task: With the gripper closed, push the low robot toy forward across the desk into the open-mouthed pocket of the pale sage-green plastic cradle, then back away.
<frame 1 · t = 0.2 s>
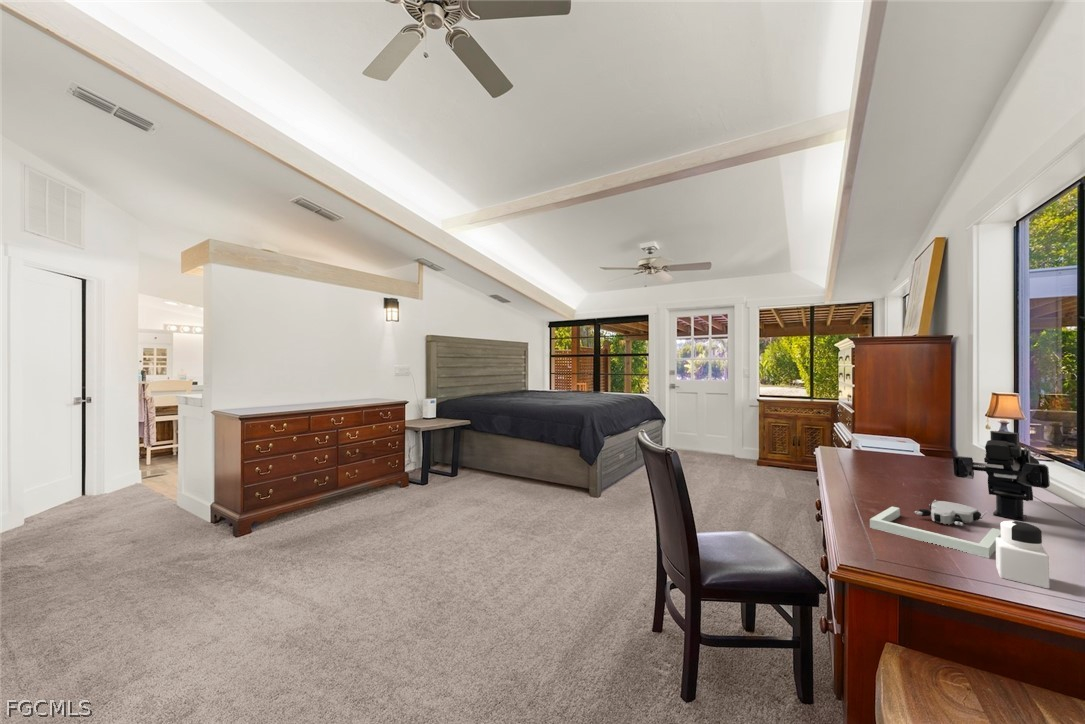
hand: (992, 476, 116), 16 cm above the table, tool horizontal, fingers open, 9 cm apart
cradle: (934, 533, 117), on the table
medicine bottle: (1021, 578, 93), on the table
robot toy: (949, 522, 127), on the table
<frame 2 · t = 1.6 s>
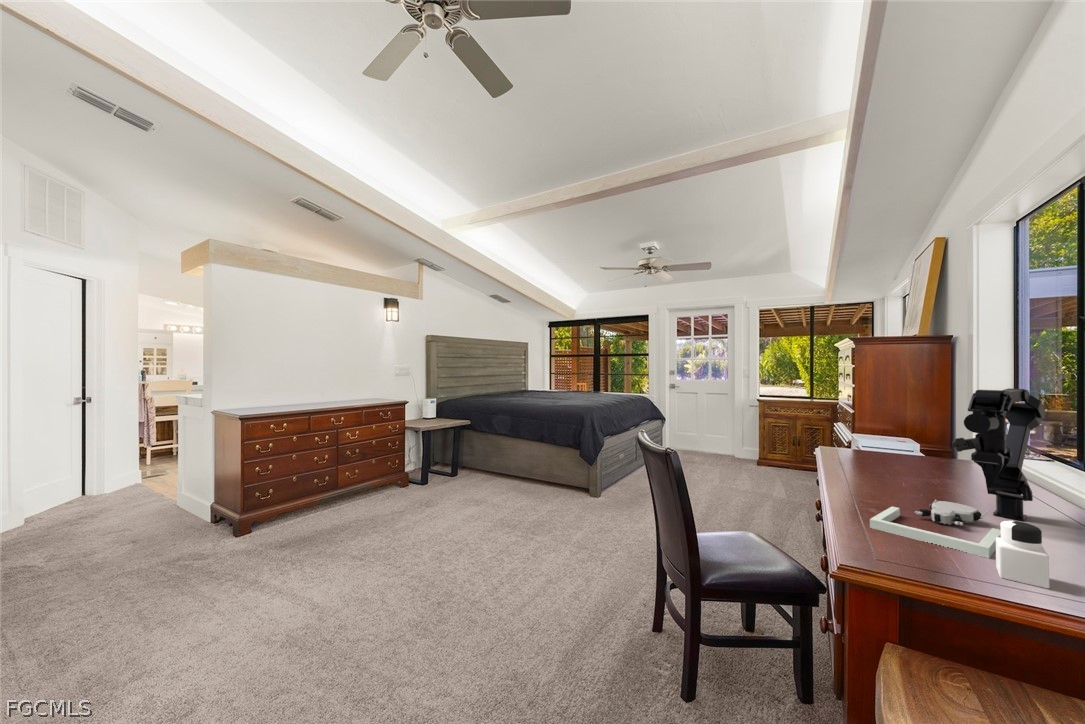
hand: (992, 482, 126), 12 cm above the table, tool pointing down, fingers open, 8 cm apart
nothing on the table moved.
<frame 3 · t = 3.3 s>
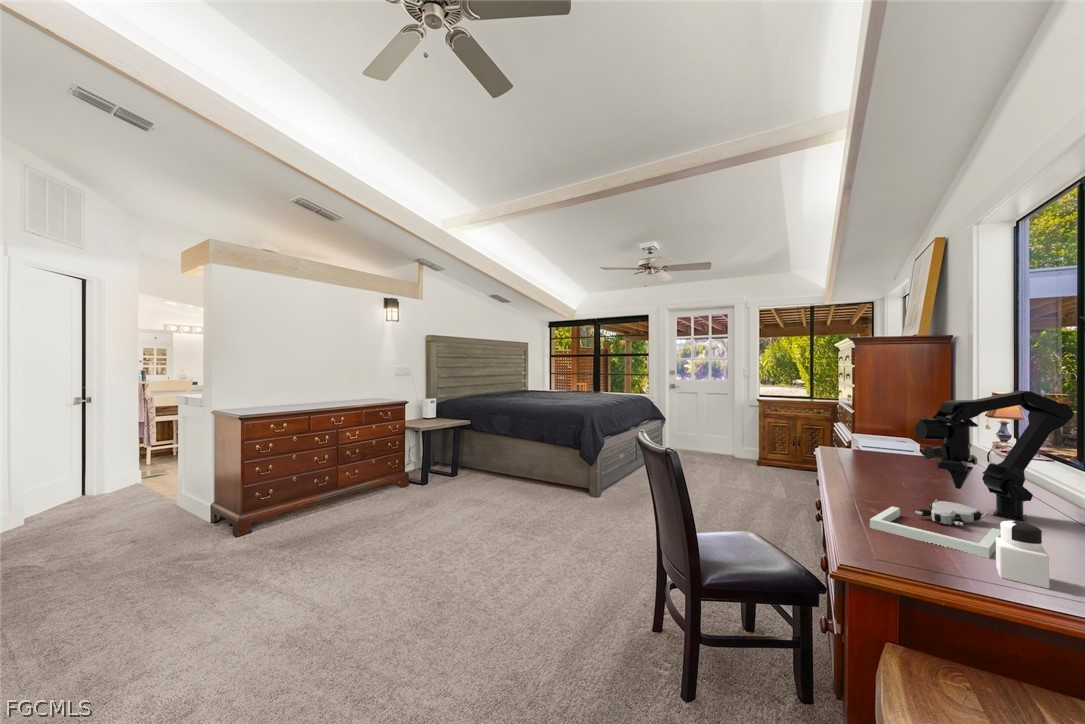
hand: (958, 488, 133), 8 cm above the table, tool pointing down, fingers closed
nothing on the table moved.
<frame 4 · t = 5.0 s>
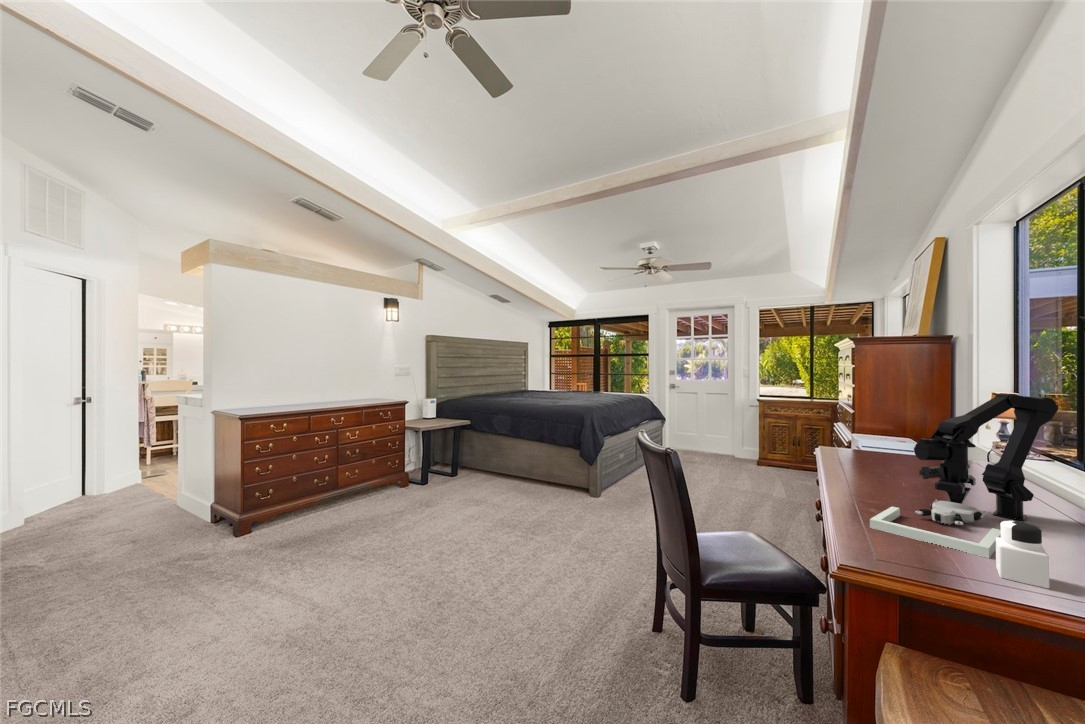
hand: (955, 509, 132), 2 cm above the table, tool pointing down, fingers closed
robot toy: (949, 522, 127), on the table, touching gripper
everything else where it was.
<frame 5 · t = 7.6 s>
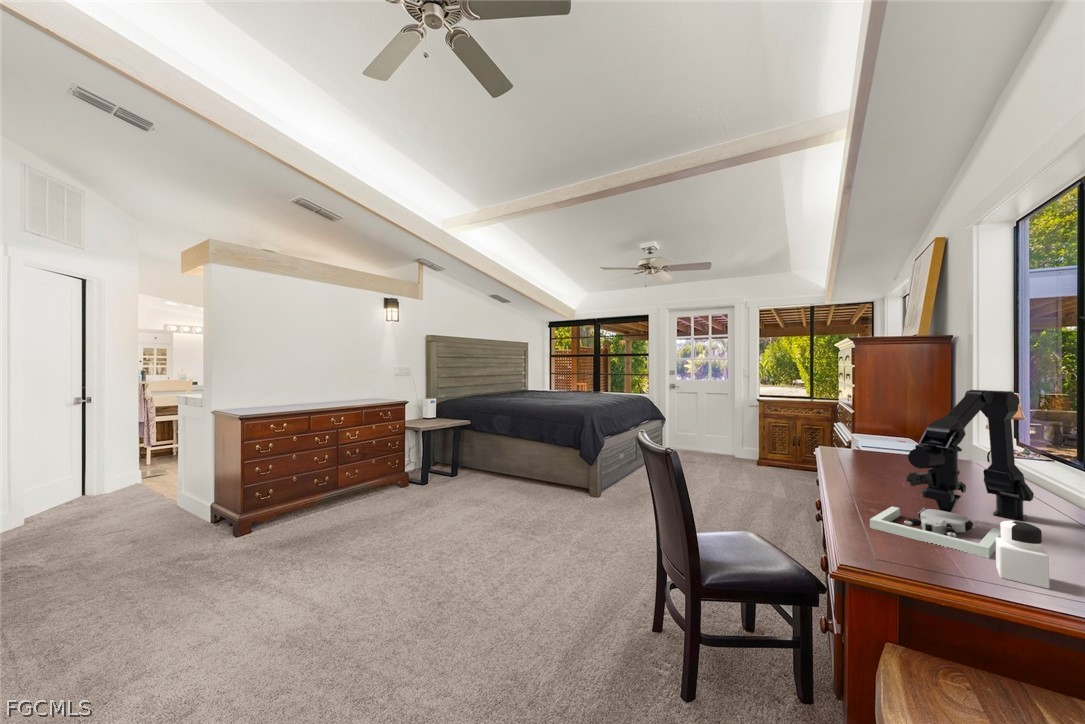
hand: (944, 518, 124), 2 cm above the table, tool pointing down, fingers closed
robot toy: (939, 532, 119), on the table, touching gripper
everything else where it was.
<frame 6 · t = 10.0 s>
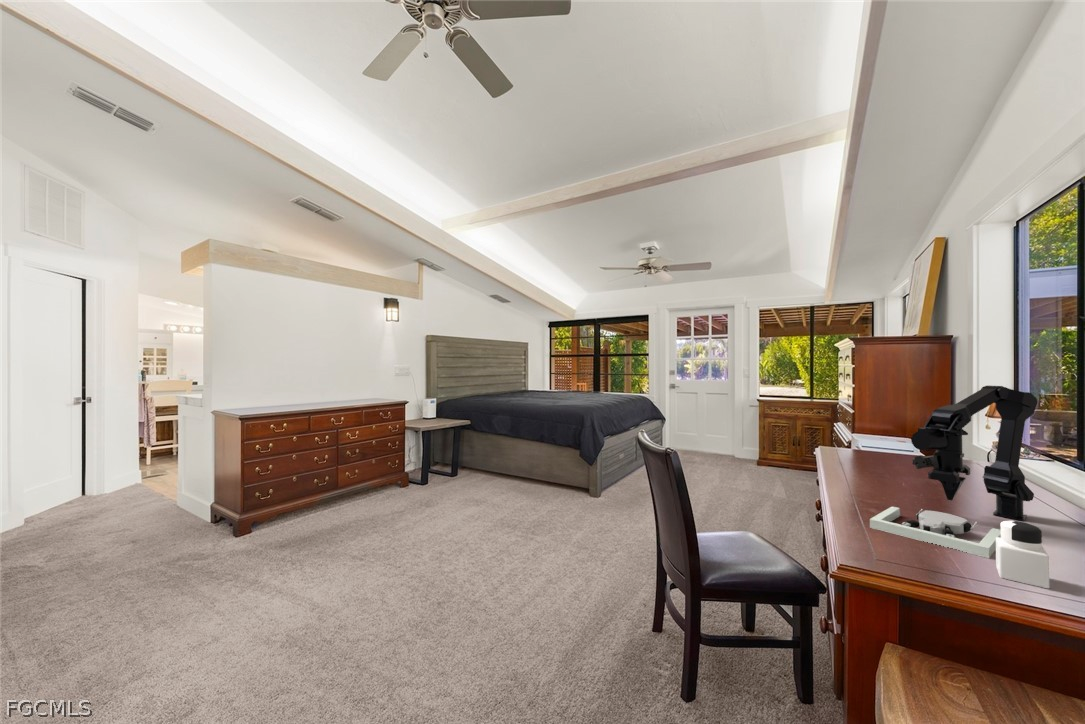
hand: (950, 500, 128), 6 cm above the table, tool pointing down, fingers closed
robot toy: (938, 534, 118), on the table
everything else where it was.
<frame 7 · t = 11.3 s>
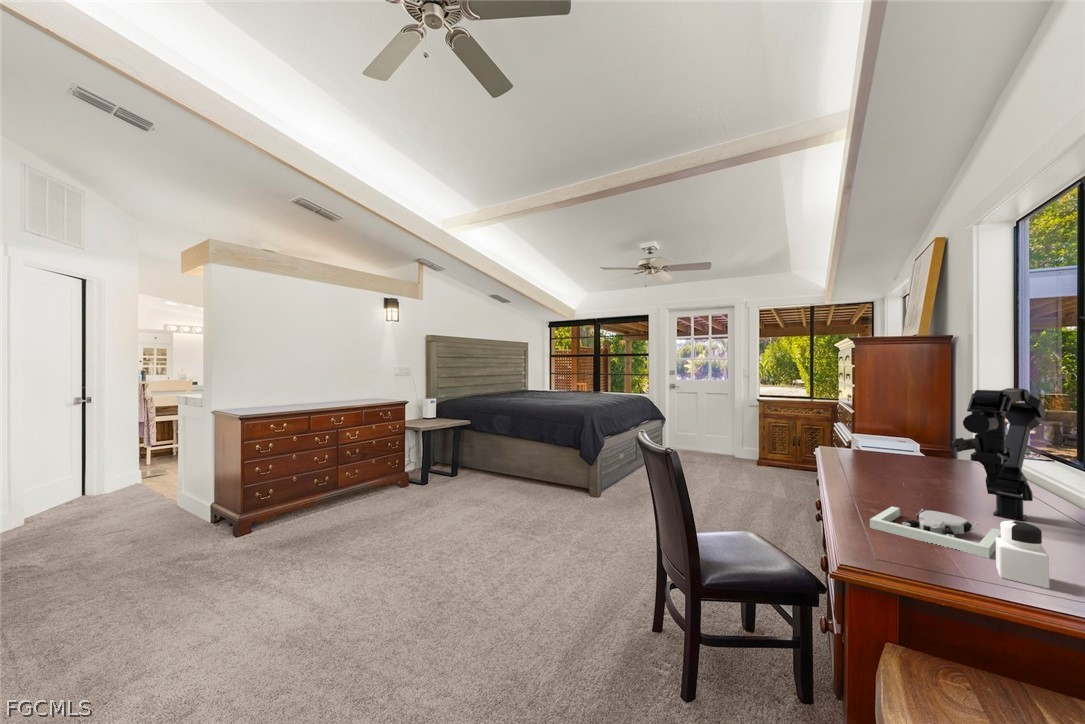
hand: (992, 482, 126), 12 cm above the table, tool pointing down, fingers closed
nothing on the table moved.
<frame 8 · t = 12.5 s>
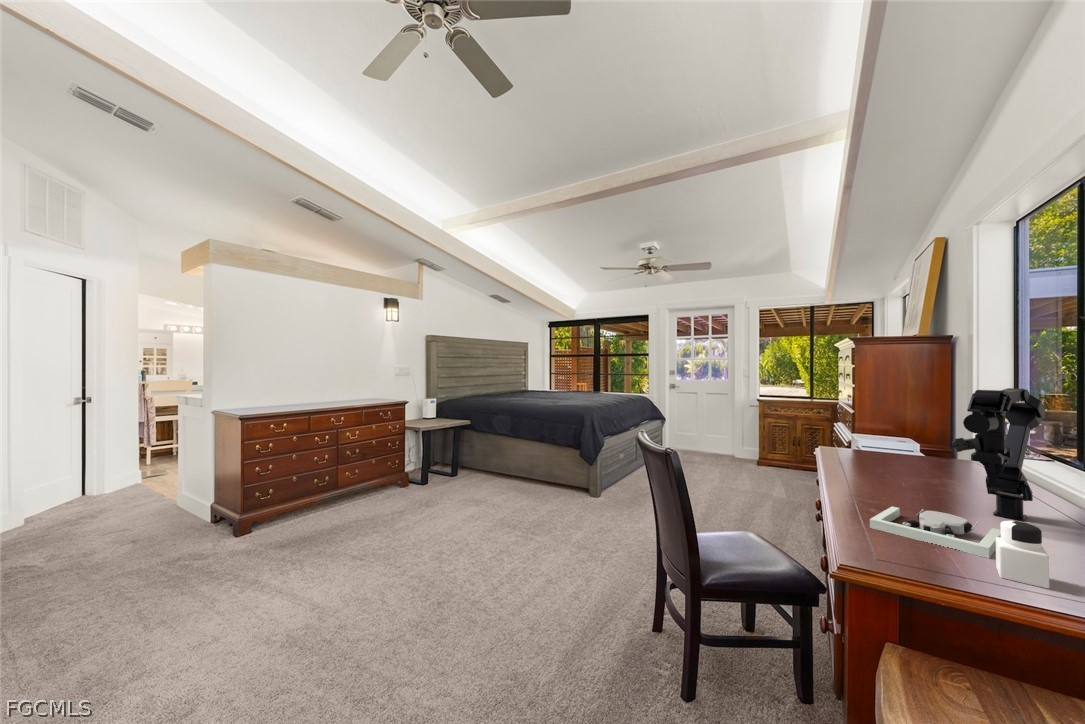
hand: (992, 482, 126), 12 cm above the table, tool pointing down, fingers closed
nothing on the table moved.
at the end: robot toy inside the target area on the cradle (2.8 cm from its centre), point -0.5 cm above the cradle's base; robot toy moved 15.0 cm from its start; robot toy tilted 0° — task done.
